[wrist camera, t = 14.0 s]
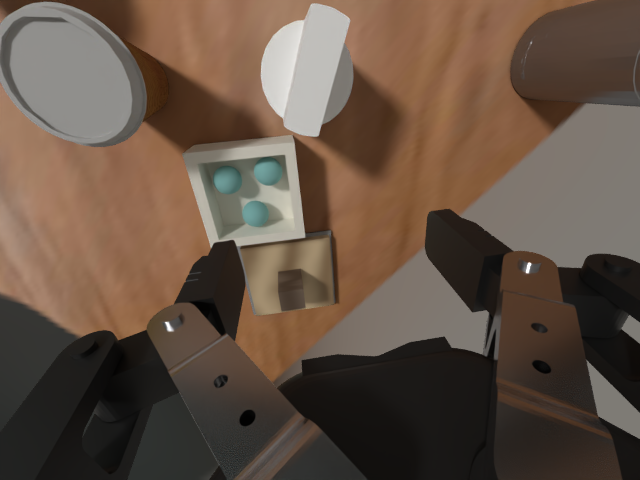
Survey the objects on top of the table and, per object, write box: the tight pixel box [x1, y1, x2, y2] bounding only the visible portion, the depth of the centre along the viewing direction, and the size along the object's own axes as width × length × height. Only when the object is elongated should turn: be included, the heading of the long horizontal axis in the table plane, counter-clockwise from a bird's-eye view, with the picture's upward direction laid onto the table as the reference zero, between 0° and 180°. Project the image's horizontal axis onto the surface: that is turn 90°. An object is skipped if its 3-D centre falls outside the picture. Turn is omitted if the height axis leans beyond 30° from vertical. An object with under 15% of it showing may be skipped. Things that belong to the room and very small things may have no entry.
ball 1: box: [213, 166, 242, 194], centre depth 34 cm, size 3×3×3 cm
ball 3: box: [242, 201, 269, 227], centre depth 37 cm, size 3×3×3 cm
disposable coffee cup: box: [0, 2, 169, 147], centre depth 26 cm, size 10×10×12 cm
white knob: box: [261, 4, 353, 137], centre depth 28 cm, size 9×9×12 cm
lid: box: [240, 235, 334, 316], centre depth 43 cm, size 13×13×6 cm
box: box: [182, 135, 305, 248], centre depth 36 cm, size 12×12×5 cm
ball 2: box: [254, 157, 282, 186], centre depth 35 cm, size 3×3×3 cm
